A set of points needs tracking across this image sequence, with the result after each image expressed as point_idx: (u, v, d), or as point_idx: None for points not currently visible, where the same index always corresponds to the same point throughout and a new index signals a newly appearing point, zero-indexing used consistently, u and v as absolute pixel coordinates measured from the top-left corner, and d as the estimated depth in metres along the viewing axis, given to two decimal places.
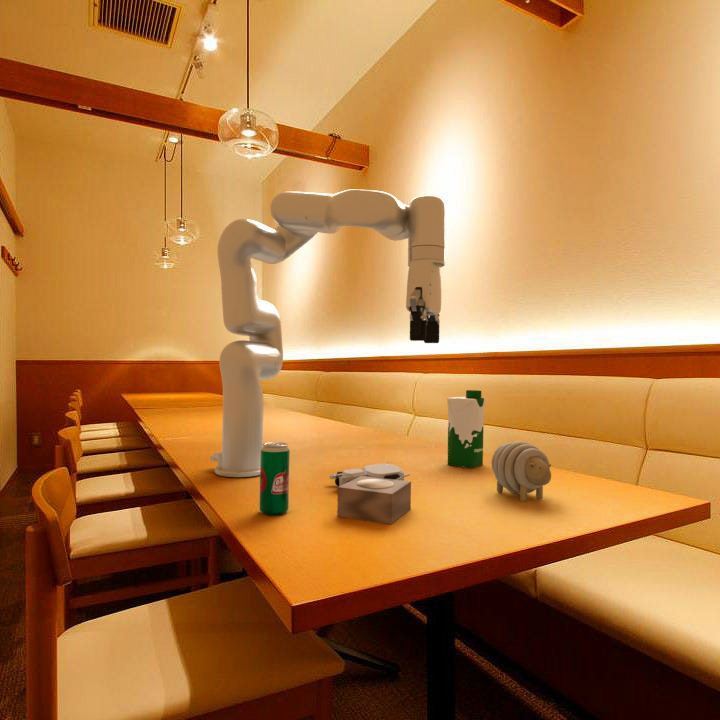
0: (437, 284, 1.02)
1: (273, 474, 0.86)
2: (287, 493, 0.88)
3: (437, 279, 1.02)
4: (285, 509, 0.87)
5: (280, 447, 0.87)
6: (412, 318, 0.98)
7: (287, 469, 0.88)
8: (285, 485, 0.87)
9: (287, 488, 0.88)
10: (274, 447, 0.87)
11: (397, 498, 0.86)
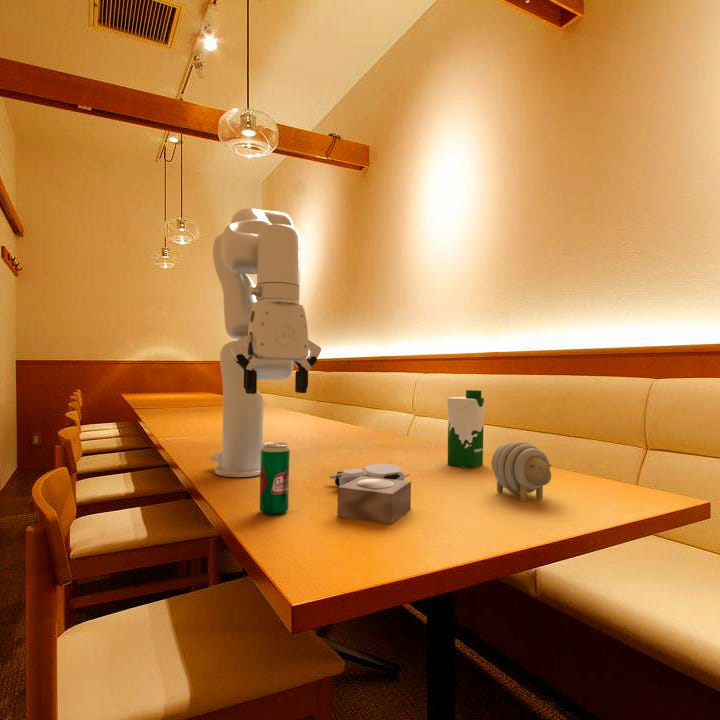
0: None
1: (273, 474, 0.86)
2: (287, 493, 0.88)
3: None
4: (285, 509, 0.87)
5: (280, 447, 0.87)
6: None
7: (287, 469, 0.88)
8: (285, 485, 0.87)
9: (287, 488, 0.88)
10: (274, 447, 0.87)
11: (397, 498, 0.86)
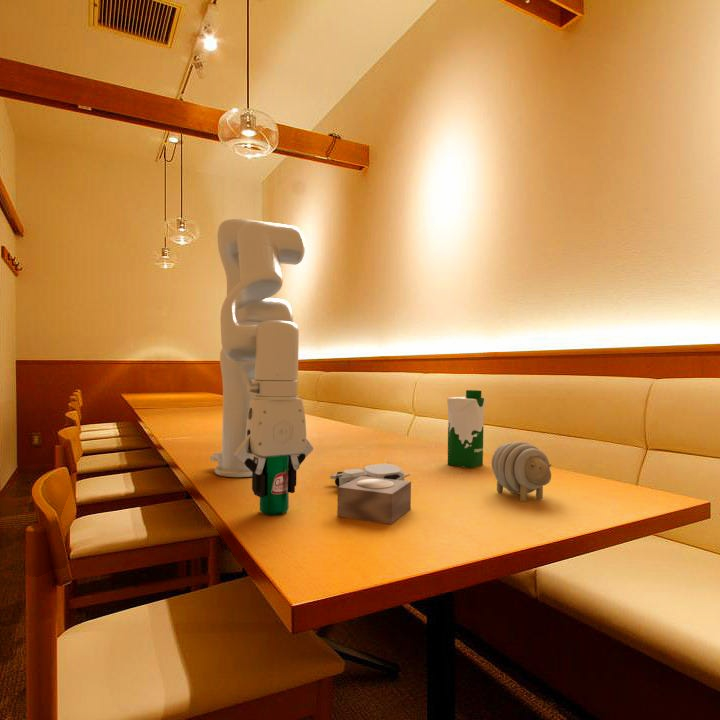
0: None
1: (273, 474, 0.86)
2: (287, 493, 0.88)
3: None
4: (285, 509, 0.87)
5: None
6: None
7: (287, 469, 0.88)
8: (285, 485, 0.87)
9: (287, 488, 0.88)
10: None
11: (397, 498, 0.86)
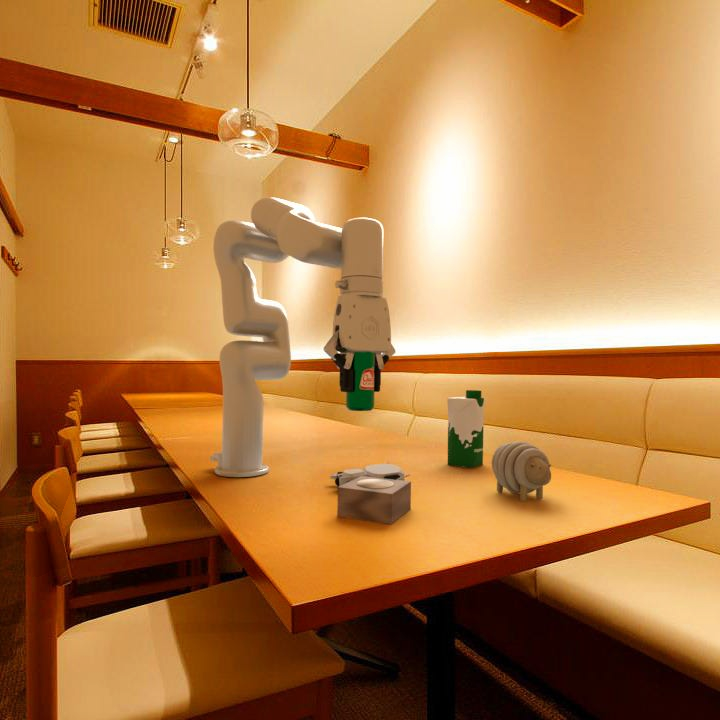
0: None
1: (361, 369, 0.87)
2: (373, 390, 0.89)
3: None
4: (372, 405, 0.88)
5: None
6: None
7: (373, 366, 0.89)
8: (372, 382, 0.88)
9: (373, 385, 0.89)
10: None
11: (397, 498, 0.86)
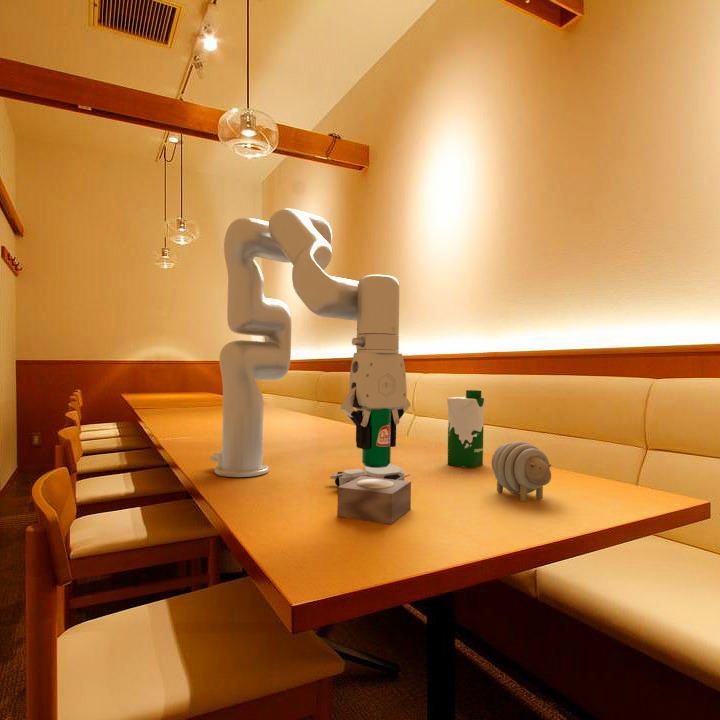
0: None
1: (377, 426, 0.87)
2: (390, 446, 0.89)
3: None
4: (389, 462, 0.88)
5: None
6: None
7: (390, 422, 0.89)
8: (389, 438, 0.88)
9: (390, 441, 0.89)
10: None
11: (397, 498, 0.86)
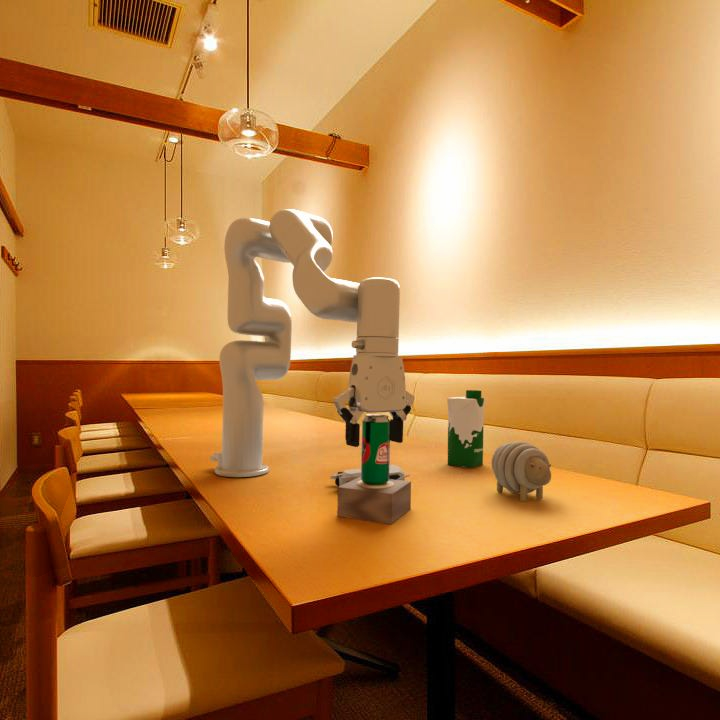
0: None
1: (377, 444, 0.87)
2: (389, 464, 0.89)
3: None
4: (387, 479, 0.88)
5: (383, 418, 0.88)
6: None
7: (389, 440, 0.89)
8: (388, 455, 0.89)
9: (389, 459, 0.89)
10: (378, 417, 0.88)
11: (397, 498, 0.86)
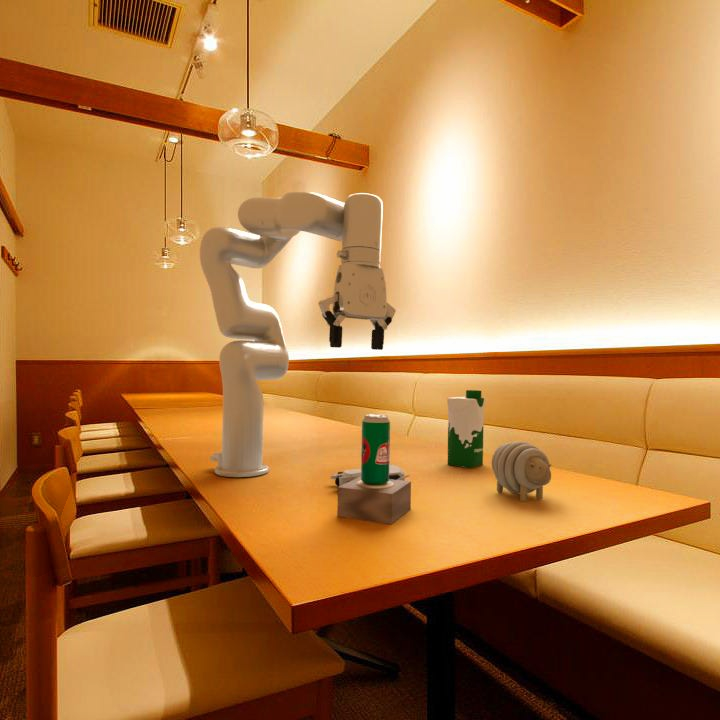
0: None
1: (376, 444, 0.87)
2: (388, 464, 0.89)
3: None
4: (387, 479, 0.88)
5: (383, 418, 0.88)
6: None
7: (389, 440, 0.89)
8: (387, 456, 0.88)
9: (389, 459, 0.89)
10: (377, 418, 0.88)
11: (397, 498, 0.86)
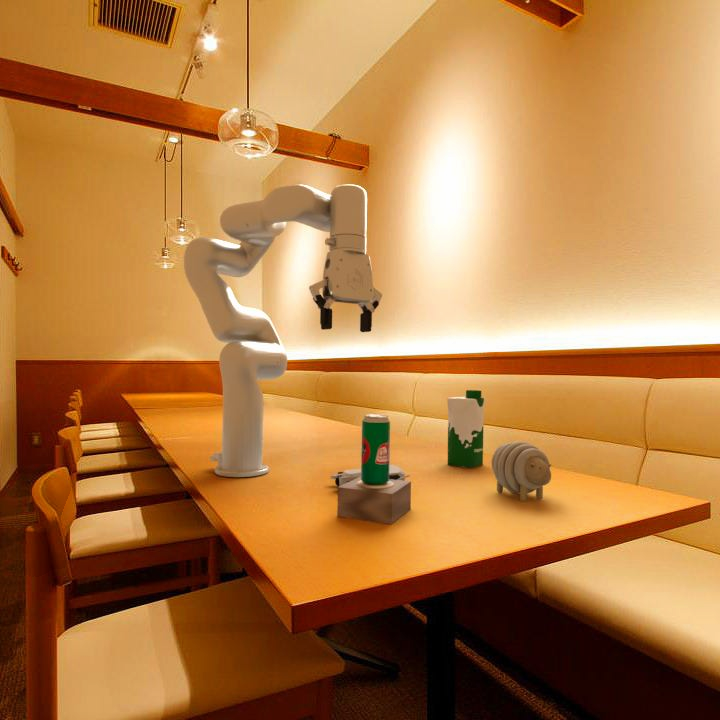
0: None
1: (376, 444, 0.87)
2: (388, 464, 0.89)
3: None
4: (387, 479, 0.88)
5: (383, 418, 0.88)
6: None
7: (389, 440, 0.89)
8: (387, 456, 0.88)
9: (389, 459, 0.89)
10: (377, 418, 0.88)
11: (397, 498, 0.86)
